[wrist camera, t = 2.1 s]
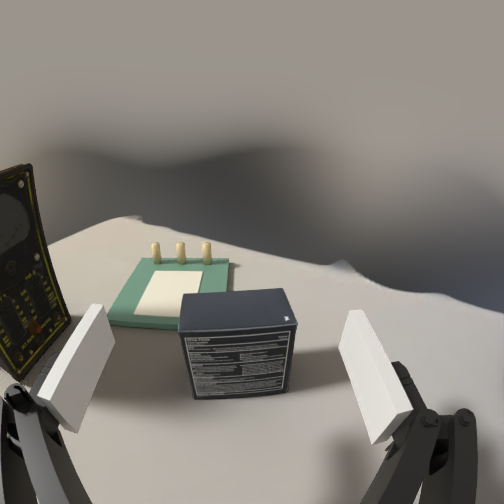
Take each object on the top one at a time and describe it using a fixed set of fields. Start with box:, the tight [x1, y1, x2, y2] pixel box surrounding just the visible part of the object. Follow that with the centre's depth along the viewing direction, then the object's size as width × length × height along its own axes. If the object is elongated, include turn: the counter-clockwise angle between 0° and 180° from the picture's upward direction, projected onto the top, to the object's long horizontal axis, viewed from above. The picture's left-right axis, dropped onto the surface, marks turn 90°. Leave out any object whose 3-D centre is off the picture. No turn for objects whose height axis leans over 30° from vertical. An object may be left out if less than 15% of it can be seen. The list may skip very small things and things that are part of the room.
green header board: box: [107, 242, 229, 330], centre depth 44 cm, size 18×20×5 cm
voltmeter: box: [0, 163, 71, 381], centre depth 24 cm, size 16×9×25 cm, turn 171°
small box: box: [178, 288, 298, 399], centre depth 27 cm, size 11×6×10 cm, turn 98°
